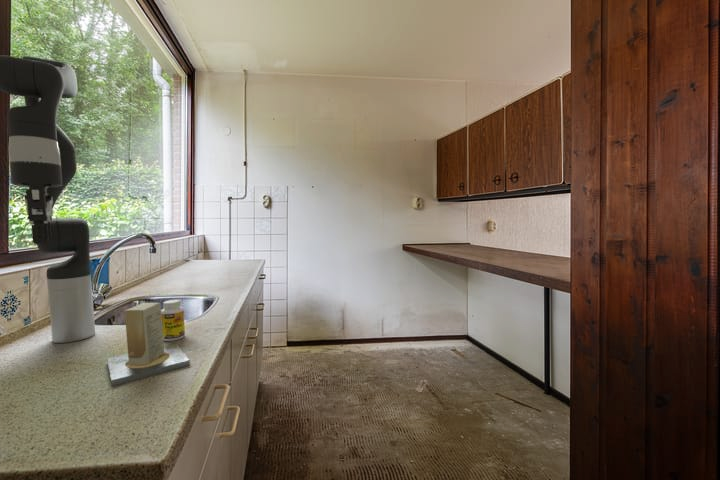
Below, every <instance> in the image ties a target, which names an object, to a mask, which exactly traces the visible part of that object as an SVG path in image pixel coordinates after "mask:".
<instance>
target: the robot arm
mask: <svg viewBox="0 0 720 480" xmlns="http://www.w3.org/2000/svg"><path fill="white" fill-rule="evenodd" d="M0 91H1V92H3V93H6V94H9V95H11V96H16V97H17V96H19V97H23V98H24V103H25V105H20V106H13V107H10V108H9V109H7V114H6V118H7V128H8V130H7V131H8V160H9V169H10V182H11V184H12V185H13V186H16V187H23V188H24V187H25V188H26V190H25V195H24V203H25V204H26V205H25V207H26V208H25V209H26V210H25V211H26V215H27V220H28V223H30V225H31V236H32V243H33V244H35V245H36V246H37V249H38V250H39V251H40V252H41V253H42V254H53V253H71V252H73V255H72V256H71V257H69V258H68V259H67V260H65V261H63V262H59V263H57V264H55V265H51V266H49V267H48V268H47V269H46V283H47V293H48V295H47V296H48V304H49V306H48V307H49V315H50V316H49V317H50V329H51V330H50V331H51V340H52V343H55V344H63V343H64V344H65V343H70V342H72V343H73V342H77V341H81V340H85V339H88V338H90V337H93V336H94V335H95V334H96V326H95V323H96V322H95V313H94V311H95V310H94V309H95V308H94V299H93V285H92V273H91V257H90V256H91V255H90V254H91V253H90V229H89V224H88V222H87V221H86V220H85V219H84V218H81V217H80V218H79V217H76V218H75V217H74V218H73V217H69V218H68V217H64V218H63V217H60V218H58V217H57V218H53V217H52V216H53V211H54V210H53V209H54V206H55V203H56V202H57V200H58V199H59V197H60V195H61V194H62V193H63V191H65V188H67V186H68V185H69V184H70V182H71V181H72V180H73V178H74V177H75V175H76V172H77V171H78V170H77V157H76V156H77V155H76V147H75V145H74V143H73V142H72V140H71V139H70V137H68V135H67V134H66V133H65V132H64V131H63V129H62V128H61V127H60V126H59V125H58V123H57V116H58V110H59V106H60V102H61V99H73V98H74V97H76V96H77V93H78V80H77V75H76V72H75V70H74V68H73V67H72V66H71V65H70V64H68V63H65V62H63V61H59V60H52V59H48V58H41V57H35V56H28V55H26V56H23V57H16V56H12V55H11V56H10V55H3V54H2V55H1V54H0Z"/></svg>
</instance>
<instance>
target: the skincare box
mask: <svg viewBox="0 0 720 480" xmlns="http://www.w3.org/2000/svg"><path fill="white" fill-rule="evenodd" d="M161 310H162V303H161V302H142V303H140V304H137V305H135V306H134V305H133V306H132V307H129V308H127V309H124V319H125V329H126V331H125V332H126V343H127V354H128V358H129V365H148V364H149V363H151V362H152V361H154V360H155V359H157V358H158V357H159V356H161V355H162V354H163V353H164V345H165V343H164V340H163V329H162V315H161Z"/></svg>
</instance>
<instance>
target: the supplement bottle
mask: <svg viewBox="0 0 720 480" xmlns="http://www.w3.org/2000/svg"><path fill="white" fill-rule="evenodd" d="M162 307H163V308H161V315H162V329H163V342H164V341H165V342H173V341H174V342H175V341H178V340H181V339H183V338H184V337H185V335H186V334H185V333H186V331H185V314H184V313H185V310H184V307H183V306H181V301H180V300H179V299H169V300H165V301H163V306H162Z"/></svg>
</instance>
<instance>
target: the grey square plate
mask: <svg viewBox="0 0 720 480" xmlns="http://www.w3.org/2000/svg"><path fill="white" fill-rule="evenodd" d="M106 361H107V367H108V373H109V377H110V385H111V386H112V387H114V386H119V385H122V384H126V383H130V382H132V381H137V380H141V379H144V378H148V377H151V376H155V375H160V374H164V373H166V372H170V371H174V370H179V369H181V368H184V367H185V368H186V367H188V366H191V362H190V361H191V360H190V359H189V358H188V356H187V355H186V354H185V353H184V351H183V350H182V348H181V347H180V346H179V344H178V343H176V342H174V343H173V342H172V343H168V344H164V353H163V354H162V355H161V356H159V357H158V358H157V359H155V360H154V361H152V362H151V363H149V364H148V365H129V358H128V353H124V354H120V355H116V356H111V357H107V358H106Z"/></svg>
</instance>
